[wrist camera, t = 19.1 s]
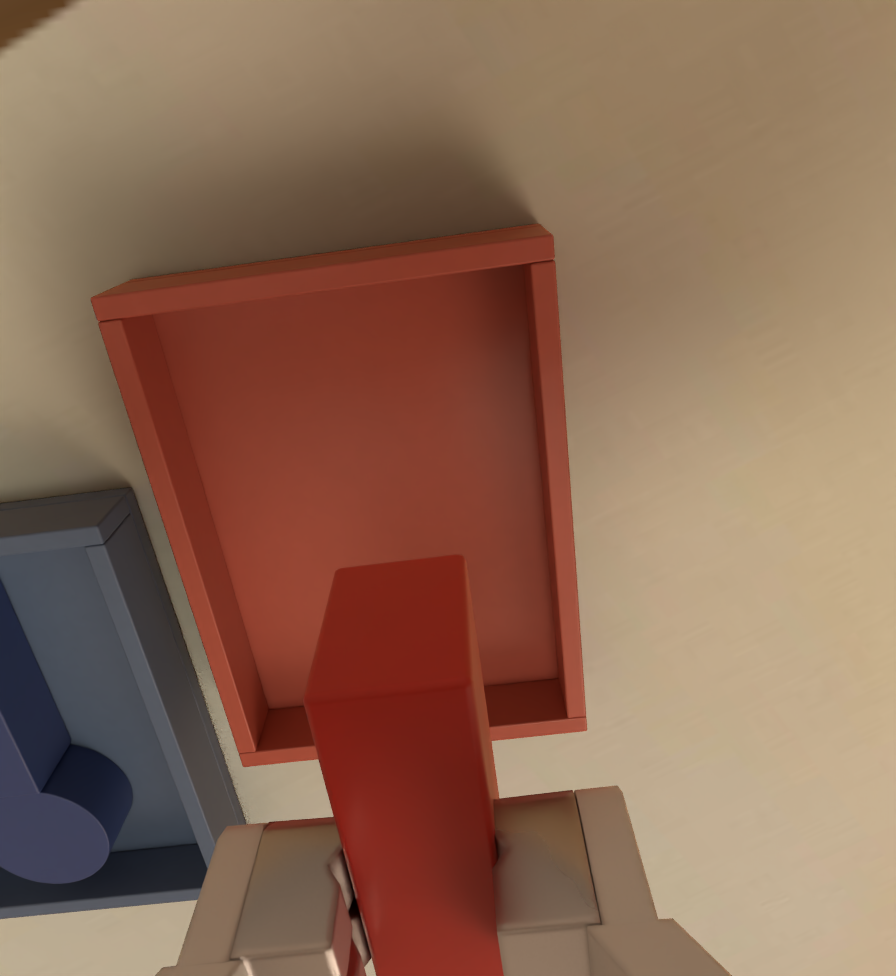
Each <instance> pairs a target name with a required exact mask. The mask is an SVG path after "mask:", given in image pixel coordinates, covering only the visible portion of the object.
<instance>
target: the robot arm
mask: <svg viewBox="0 0 896 976" xmlns="http://www.w3.org/2000/svg"><path fill="white" fill-rule="evenodd" d="M493 807H494V820H495V842H496V849H497V856H498V861H497V862H496V864H495V865H494V867H493V869H492V873H493V886H494V899H495V912H496V925H497V935H498V942H499V948H500V955H501V961H502V968H503V974H504V976H732V975H731V974H730V973H729V972H728V971H727V970H726V969H724V968H723V967H722V966H721V965H720V964H719V963H718V962H717V961H716V960H715V959H714V958H713V957H712V956H711V955H710V954H709V953H708V952H707V951H706V950H705V949H704V948H703V947H702V946H701V945H700V944H699V943H698V942H697V941H696V940H694V939H693V938H692V937H691V936H690V935H689V934H688V933H687V932H686V931H685V930H684V929H683V928H682V927H681V926H680V925H679V924H678V923H677V922H676V921H675V920H674V919H658V917H657V913H656V910H655V906H654V902H653V899H652V895H651V892H650V888H649V885H648V881H647V878H646V874H645V871H644V867H643V863H642V860H641V856H640V853H639V849H638V846H637V842H636V839H635V835H634V831H633V828H632V824H631V821H630V817H629V814H628V810H627V807H626V803H625V800H624V796H623V792H622V791H621V790H620V789H619V787H618V786H608V787H599V788H590V789H581V790H575V791H574V793H573V790H569V791H560V792H552V793H543V794H535V795H526V796H518V797H509V798H501V799H494V803H493ZM370 959H371V953H370V950H369V946H368V942H367V938H366V935H365V931H364V927H363V923H362V920H361V916H360V912H359V909H358V905H357V901H356V897H355V894H354V890H353V886H352V882H351V879H350V875H349V871H348V867H347V864H346V860H345V856H344V853H343V849H342V845H341V841H340V838H339V834H338V830H337V826H336V823H335V819H334V817H327V818H315V819H302V820H289V821H276V822H269V823H259V824H247V825H235V826H227V827H226V828H225V830H224V831H223V832H222V834H221V835H220V837H219V838H218V839H217V842H216V845H215V848H214V852H213V855H212V858H211V861H210V864H209V867H208V870H207V873H206V876H205V879H204V882H203V885H202V888H201V891H200V894H199V898H198V901H197V904H196V907H195V910H194V913H193V916H192V919H191V922H190V925H189V928H188V931H187V934H186V937H185V940H184V944H183V947H182V950H181V953H180V956H179V959H178V962H177V965H176V966H171V967H163V968H162V969H161V970H160V971H159V972H158V973H157V974H156V975H155V976H366V973H365V969H364V967H365V966H366V964H367V963H368V962H369V960H370Z"/></svg>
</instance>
